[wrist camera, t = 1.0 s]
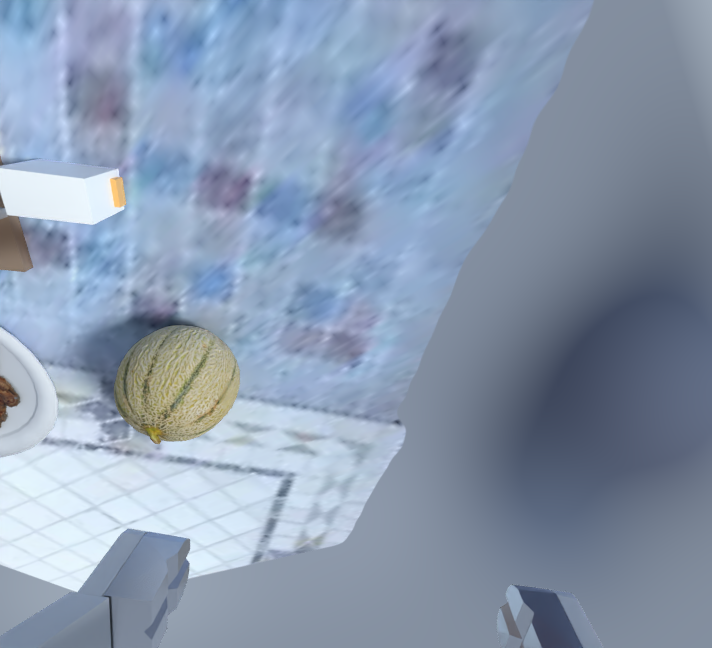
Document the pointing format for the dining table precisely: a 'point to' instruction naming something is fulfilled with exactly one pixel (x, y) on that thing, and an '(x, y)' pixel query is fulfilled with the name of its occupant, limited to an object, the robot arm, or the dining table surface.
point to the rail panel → (12, 242)
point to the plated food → (23, 397)
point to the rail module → (61, 191)
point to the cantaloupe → (176, 383)
